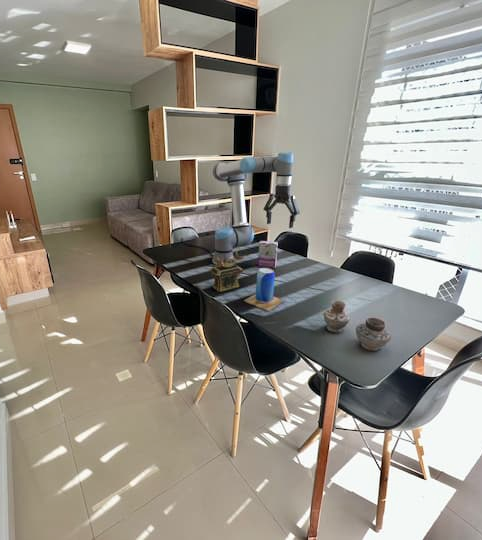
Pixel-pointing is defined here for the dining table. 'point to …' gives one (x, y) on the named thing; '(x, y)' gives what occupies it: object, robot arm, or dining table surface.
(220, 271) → the decorative box
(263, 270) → the beer can
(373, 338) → the pottery
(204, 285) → the dining table surface
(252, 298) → the corner mat
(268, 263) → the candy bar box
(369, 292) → the dining table surface
